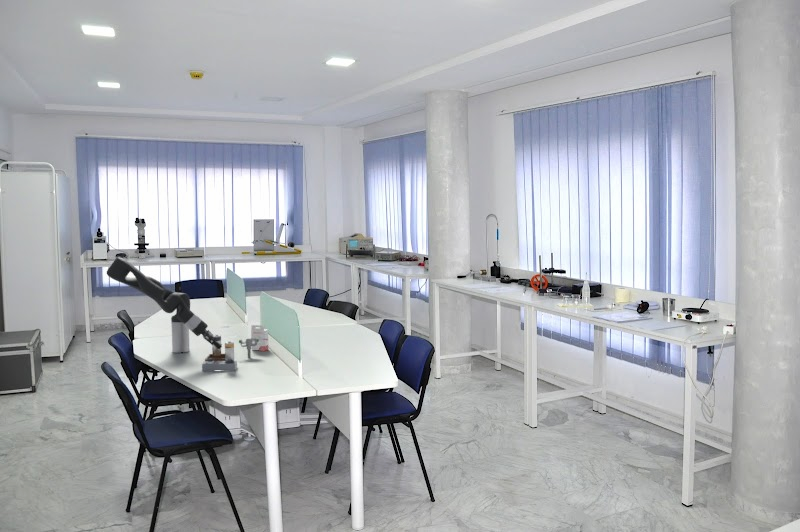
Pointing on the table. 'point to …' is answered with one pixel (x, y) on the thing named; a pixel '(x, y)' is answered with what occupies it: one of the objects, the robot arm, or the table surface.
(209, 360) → the plunger
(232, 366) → the tester
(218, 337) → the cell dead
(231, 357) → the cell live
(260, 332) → the ink cartridge box
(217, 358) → the bin
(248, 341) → the mechanical component
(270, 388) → the table surface
